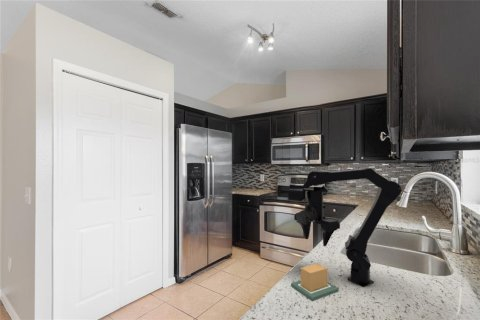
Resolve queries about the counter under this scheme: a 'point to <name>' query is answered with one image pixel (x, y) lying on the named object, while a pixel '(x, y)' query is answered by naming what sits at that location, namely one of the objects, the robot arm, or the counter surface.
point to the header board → (316, 293)
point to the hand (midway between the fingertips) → (315, 242)
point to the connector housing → (314, 277)
